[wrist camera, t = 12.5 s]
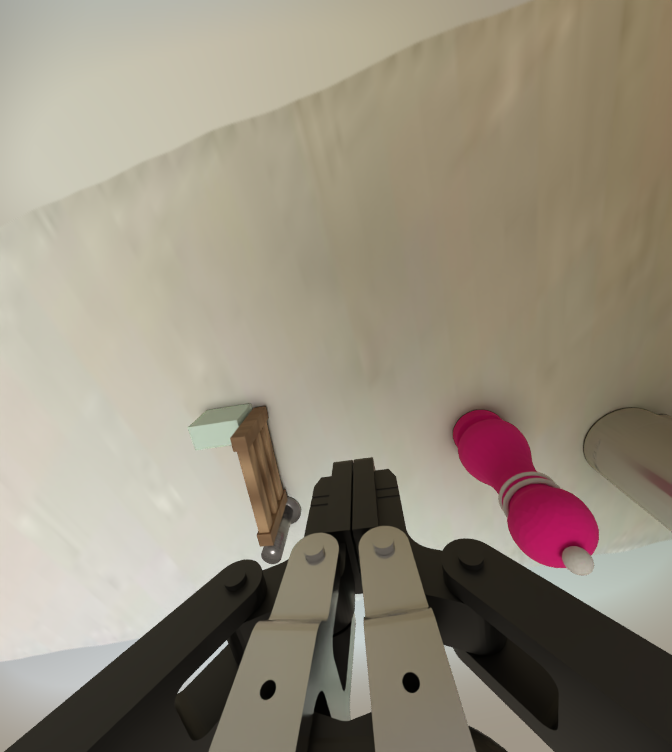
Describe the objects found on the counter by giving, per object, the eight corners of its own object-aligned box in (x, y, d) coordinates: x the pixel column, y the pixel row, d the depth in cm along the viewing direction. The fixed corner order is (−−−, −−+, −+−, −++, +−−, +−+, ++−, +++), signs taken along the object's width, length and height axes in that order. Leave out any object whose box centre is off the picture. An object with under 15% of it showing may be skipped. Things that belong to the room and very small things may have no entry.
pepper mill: (487, 465, 42) (597, 625, 23) (437, 443, 41) (507, 588, 22) (519, 420, 40) (671, 554, 21) (468, 396, 39) (573, 510, 20)
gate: (253, 407, 41) (229, 438, 33) (265, 406, 41) (244, 436, 33) (276, 500, 45) (259, 546, 37) (287, 499, 45) (273, 545, 37)
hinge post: (297, 494, 45) (285, 539, 37) (304, 520, 46) (293, 568, 38) (267, 498, 45) (248, 543, 38) (274, 523, 47) (258, 571, 39)
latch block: (250, 403, 41) (236, 420, 36) (256, 424, 42) (243, 443, 37) (206, 410, 42) (187, 427, 37) (213, 430, 43) (195, 450, 38)
